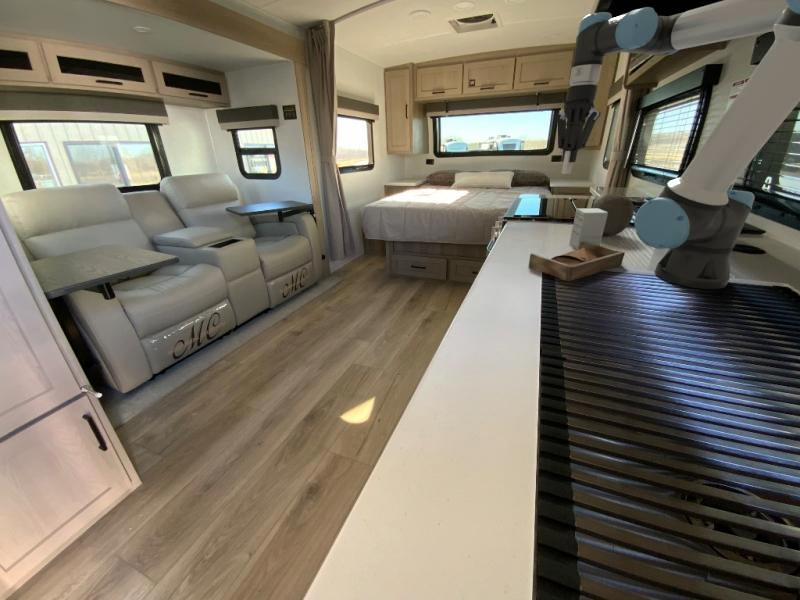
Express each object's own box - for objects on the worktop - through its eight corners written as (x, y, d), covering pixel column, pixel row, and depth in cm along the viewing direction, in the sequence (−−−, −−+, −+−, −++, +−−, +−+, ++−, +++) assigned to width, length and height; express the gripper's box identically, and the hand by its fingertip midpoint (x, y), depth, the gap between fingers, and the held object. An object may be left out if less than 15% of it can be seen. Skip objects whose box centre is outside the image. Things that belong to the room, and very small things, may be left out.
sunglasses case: (574, 276, 91) (566, 253, 91) (551, 281, 97) (544, 259, 97) (606, 262, 100) (599, 241, 100) (584, 268, 106) (577, 248, 106)
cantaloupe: (634, 240, 120) (647, 198, 114) (592, 239, 122) (603, 197, 116) (617, 230, 133) (628, 191, 126) (580, 229, 135) (588, 191, 128)
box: (621, 265, 98) (625, 252, 96) (568, 281, 88) (571, 267, 86) (579, 253, 109) (582, 241, 107) (528, 266, 99) (530, 253, 97)
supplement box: (590, 244, 118) (598, 207, 112) (599, 250, 111) (609, 212, 105) (568, 243, 118) (576, 207, 113) (576, 250, 112) (584, 212, 106)
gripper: (554, 87, 97) (540, 172, 108) (597, 81, 87) (577, 176, 97) (570, 88, 100) (555, 171, 111) (613, 82, 90) (592, 174, 101)
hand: (566, 173), depth 104 cm, fingers closed
